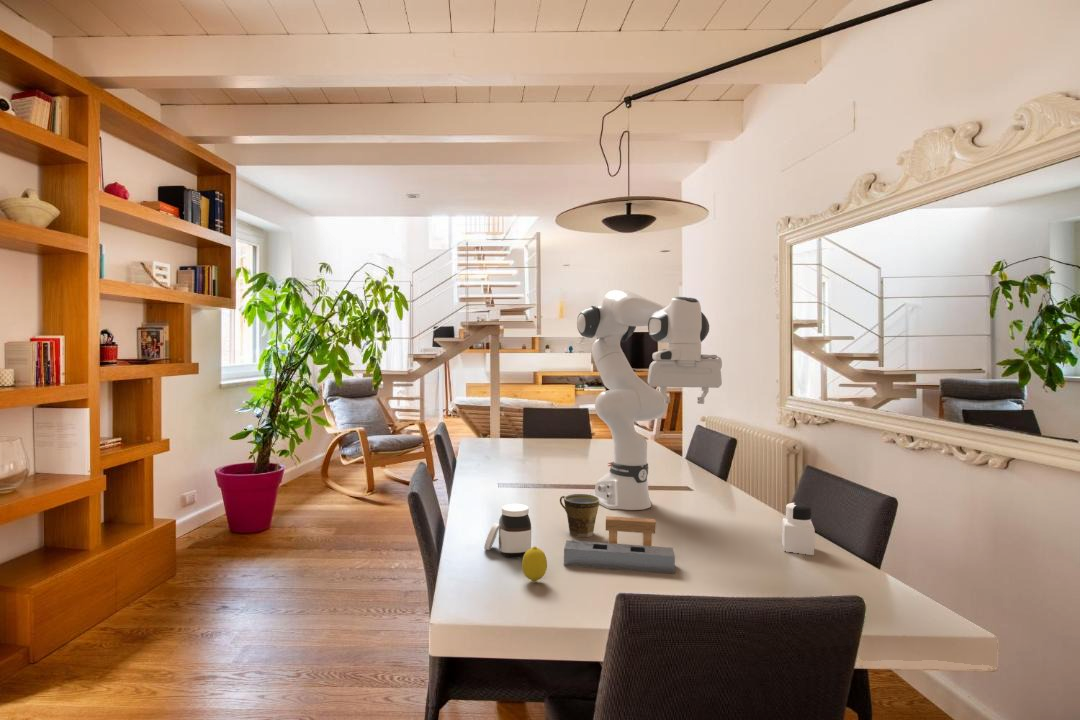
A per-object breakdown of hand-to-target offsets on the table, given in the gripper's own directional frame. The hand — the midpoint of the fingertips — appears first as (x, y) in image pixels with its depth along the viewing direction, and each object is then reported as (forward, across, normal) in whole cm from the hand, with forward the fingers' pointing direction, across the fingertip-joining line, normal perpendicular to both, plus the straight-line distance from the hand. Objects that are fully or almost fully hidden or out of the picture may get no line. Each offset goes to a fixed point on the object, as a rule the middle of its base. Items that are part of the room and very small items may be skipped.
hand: (683, 403), depth 159 cm
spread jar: (+38, +48, +16) cm, 63 cm away
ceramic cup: (+37, +30, 0) cm, 48 cm away
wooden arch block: (+37, +16, +9) cm, 42 cm away
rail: (+37, +20, +23) cm, 48 cm away
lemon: (+38, +40, +34) cm, 65 cm away
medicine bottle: (+38, -28, +9) cm, 48 cm away
